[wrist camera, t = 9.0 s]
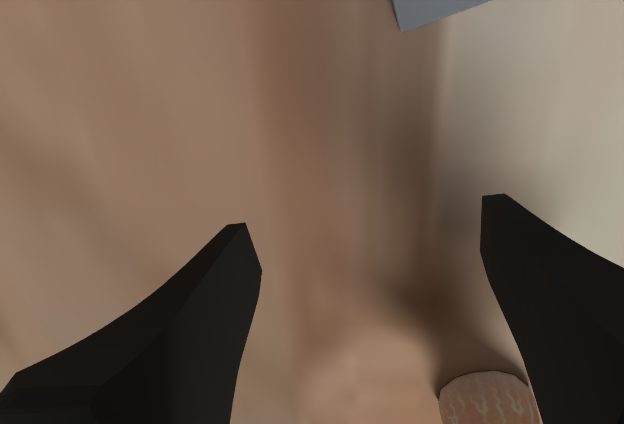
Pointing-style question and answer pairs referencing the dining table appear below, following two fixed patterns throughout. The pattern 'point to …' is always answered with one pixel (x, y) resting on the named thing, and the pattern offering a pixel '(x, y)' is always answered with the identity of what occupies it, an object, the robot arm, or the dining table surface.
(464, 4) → the gray block
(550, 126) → the dining table surface
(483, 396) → the brown statue
